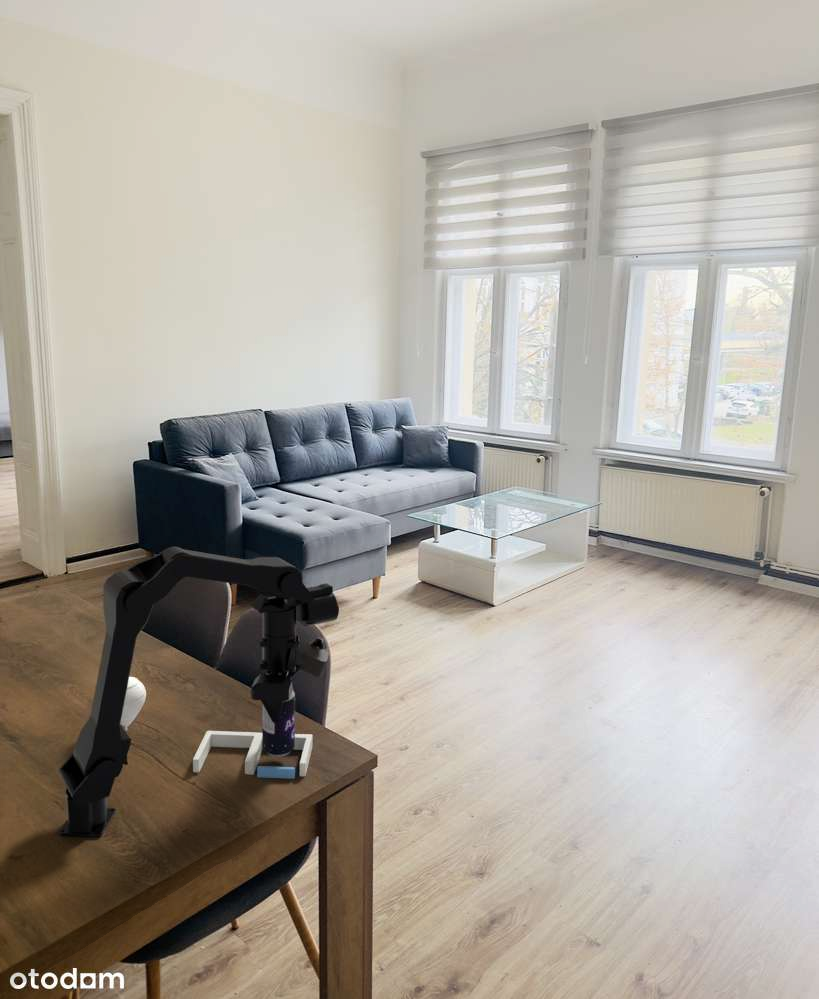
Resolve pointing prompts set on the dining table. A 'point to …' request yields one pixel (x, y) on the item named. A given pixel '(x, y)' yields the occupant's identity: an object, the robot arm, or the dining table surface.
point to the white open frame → (253, 752)
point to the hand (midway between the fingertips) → (278, 713)
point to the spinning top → (133, 701)
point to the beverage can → (280, 730)
